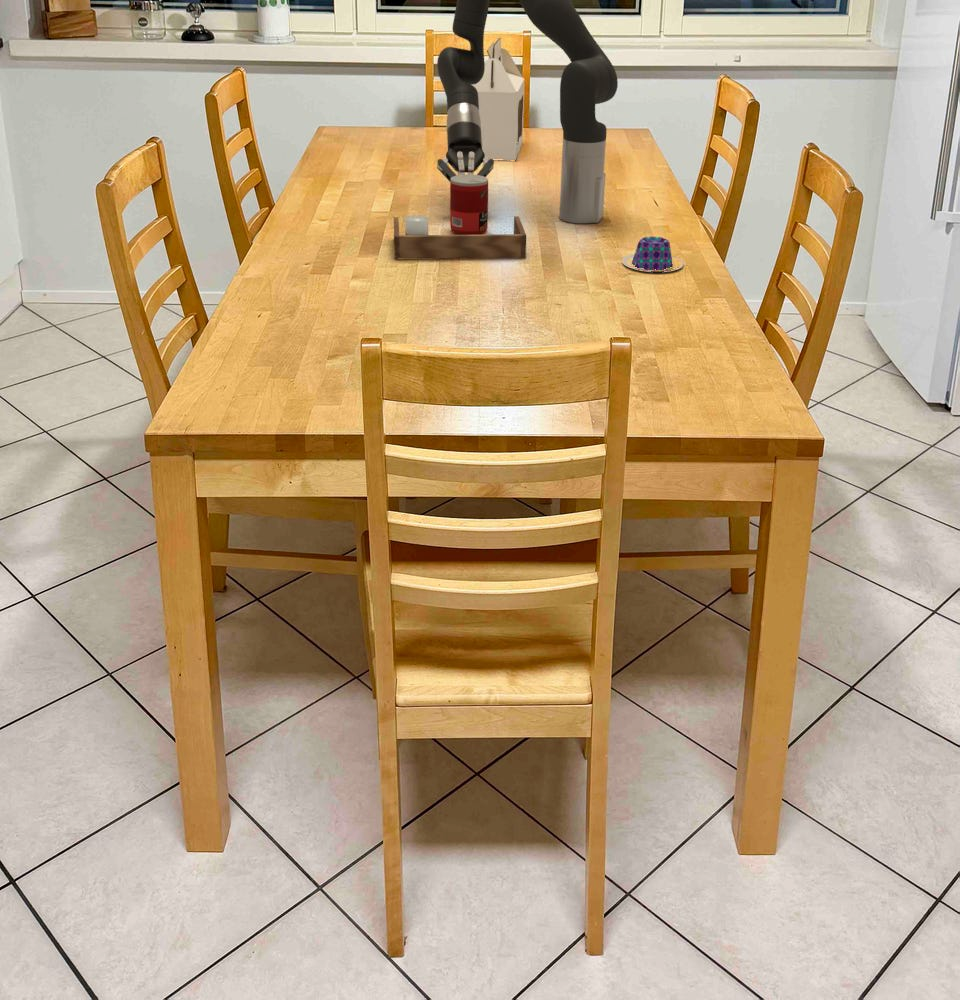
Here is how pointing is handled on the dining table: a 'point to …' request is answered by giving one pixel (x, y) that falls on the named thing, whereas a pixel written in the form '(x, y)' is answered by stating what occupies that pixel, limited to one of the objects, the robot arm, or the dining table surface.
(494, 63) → the gable box
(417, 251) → the u-shaped frame
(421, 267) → the dining table surface
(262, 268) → the dining table surface
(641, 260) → the patterned hat
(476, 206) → the canned food
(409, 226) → the grey rounded capsule
